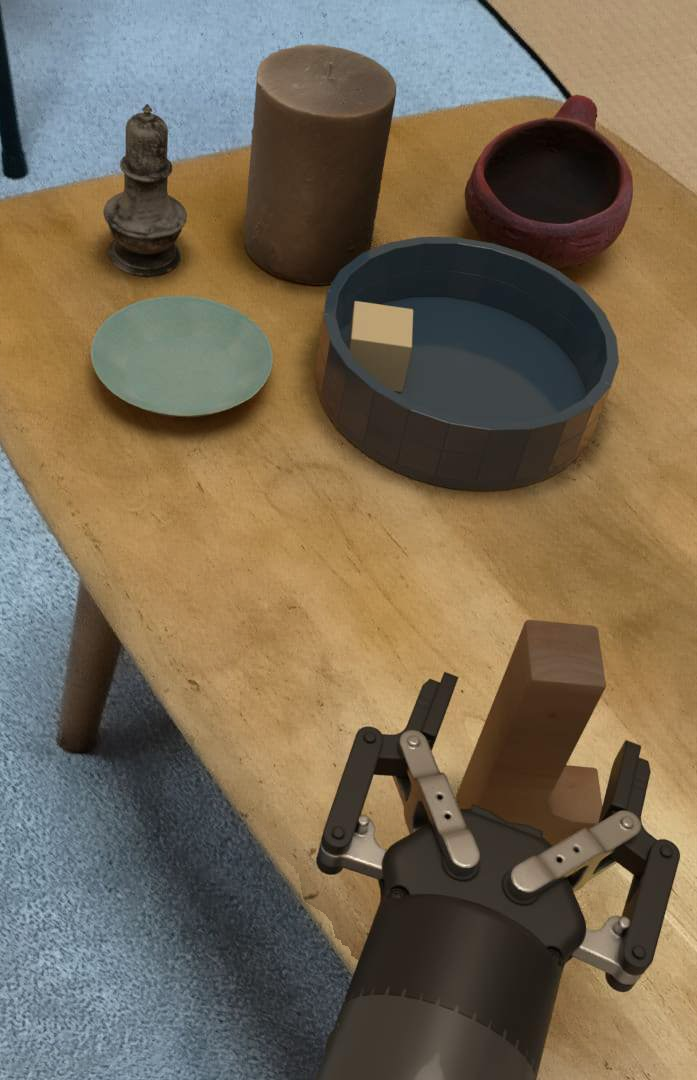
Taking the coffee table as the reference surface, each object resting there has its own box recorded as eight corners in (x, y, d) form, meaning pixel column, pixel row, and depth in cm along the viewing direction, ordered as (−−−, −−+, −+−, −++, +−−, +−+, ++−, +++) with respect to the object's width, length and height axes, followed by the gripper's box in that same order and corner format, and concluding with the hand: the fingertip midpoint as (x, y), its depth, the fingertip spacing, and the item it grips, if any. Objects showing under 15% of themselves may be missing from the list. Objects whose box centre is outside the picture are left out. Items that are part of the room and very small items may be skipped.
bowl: (633, 295, 96) (666, 206, 90) (474, 294, 93) (498, 202, 87) (574, 177, 106) (601, 91, 100) (430, 173, 103) (448, 84, 97)
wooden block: (458, 850, 62) (530, 679, 51) (455, 792, 64) (524, 617, 53) (585, 860, 63) (684, 694, 52) (578, 803, 65) (672, 631, 54)
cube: (403, 354, 86) (413, 308, 83) (401, 392, 83) (412, 347, 80) (346, 346, 86) (354, 300, 83) (342, 384, 83) (351, 338, 80)
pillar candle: (388, 276, 93) (425, 92, 82) (266, 294, 90) (287, 104, 78) (340, 202, 99) (368, 20, 87) (223, 216, 95) (237, 29, 84)
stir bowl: (618, 351, 91) (642, 290, 87) (560, 530, 78) (584, 469, 74) (368, 269, 93) (380, 206, 89) (271, 429, 80) (279, 365, 76)
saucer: (136, 460, 77) (137, 434, 75) (63, 345, 83) (61, 318, 81) (301, 410, 82) (305, 385, 80) (220, 305, 88) (222, 279, 86)
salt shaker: (132, 288, 88) (134, 136, 79) (88, 244, 91) (84, 93, 82) (201, 264, 91) (209, 115, 82) (156, 222, 93) (159, 73, 85)
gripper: (653, 1101, 42) (719, 727, 52) (261, 941, 43) (402, 611, 54) (590, 1164, 47) (661, 815, 58) (245, 1020, 49) (376, 707, 60)
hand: (536, 717), depth 56 cm, fingers open, 8 cm apart
